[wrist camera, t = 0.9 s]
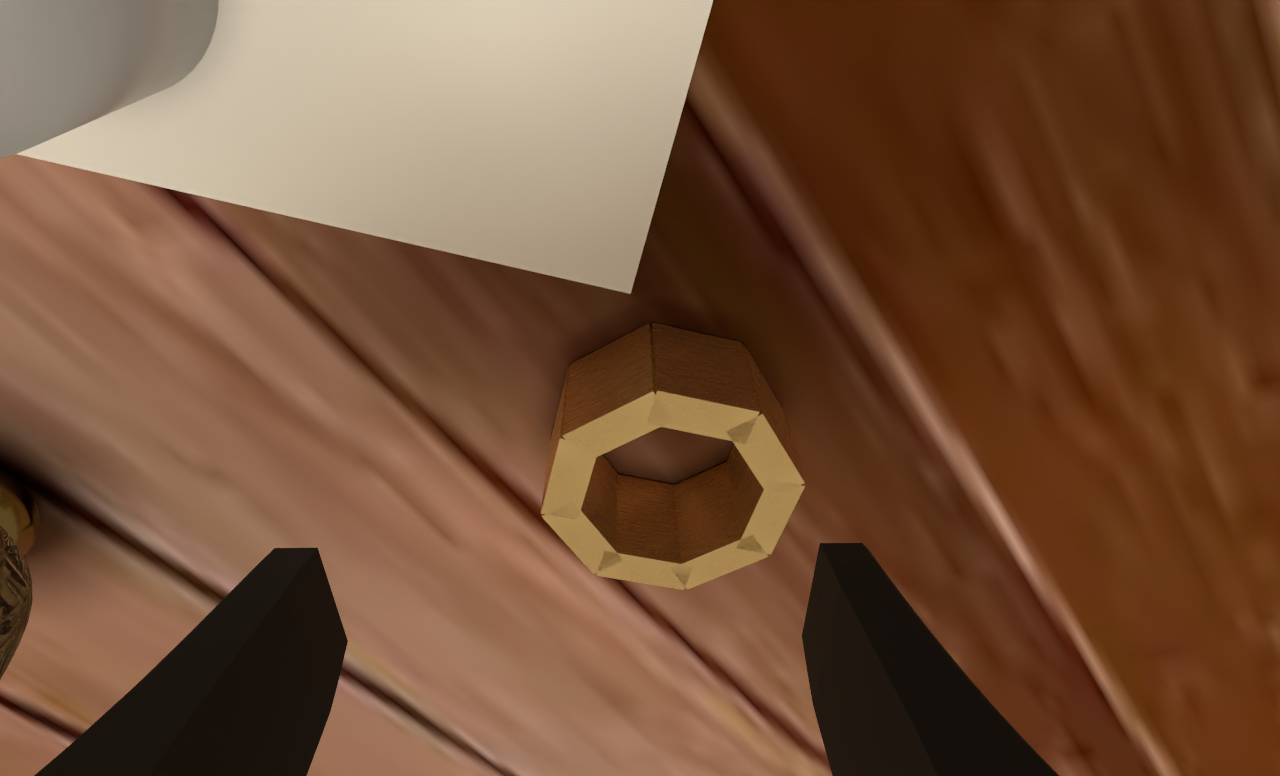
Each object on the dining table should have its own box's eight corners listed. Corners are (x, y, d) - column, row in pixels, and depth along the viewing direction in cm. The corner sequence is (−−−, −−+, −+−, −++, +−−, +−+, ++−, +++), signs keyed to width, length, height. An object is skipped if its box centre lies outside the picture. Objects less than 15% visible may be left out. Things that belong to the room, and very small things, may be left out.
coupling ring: (806, 356, 19) (834, 427, 17) (733, 520, 22) (747, 600, 20) (582, 306, 18) (576, 373, 16) (539, 484, 21) (528, 564, 19)
